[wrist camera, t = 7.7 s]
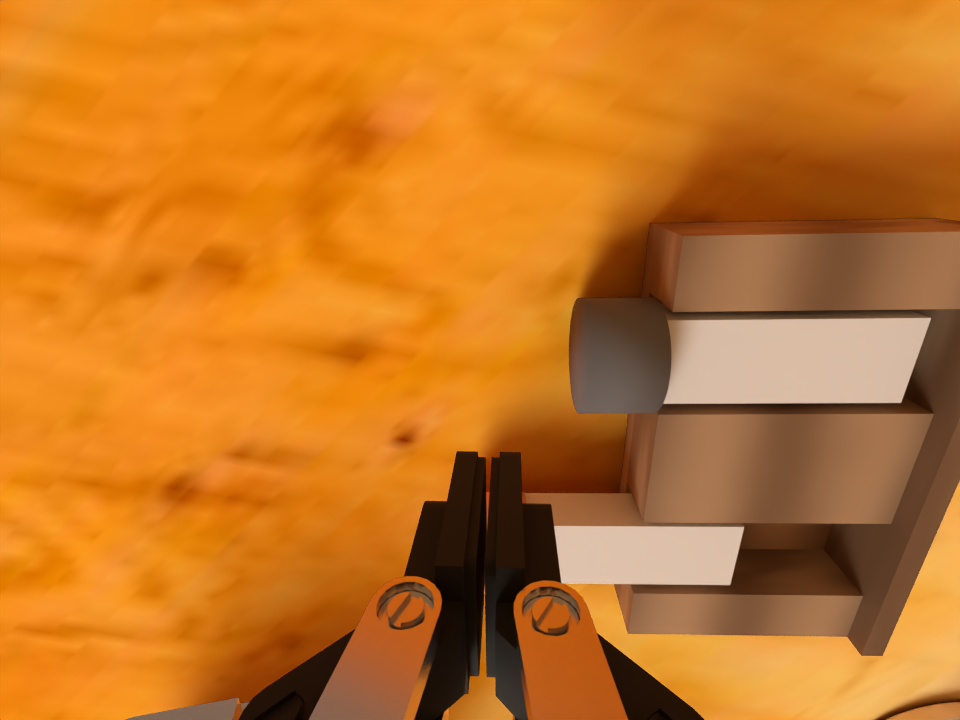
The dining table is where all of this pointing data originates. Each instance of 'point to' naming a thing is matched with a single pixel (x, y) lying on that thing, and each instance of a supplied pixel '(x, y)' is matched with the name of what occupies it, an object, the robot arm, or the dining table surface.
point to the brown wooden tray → (803, 435)
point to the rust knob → (635, 543)
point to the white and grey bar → (736, 355)
